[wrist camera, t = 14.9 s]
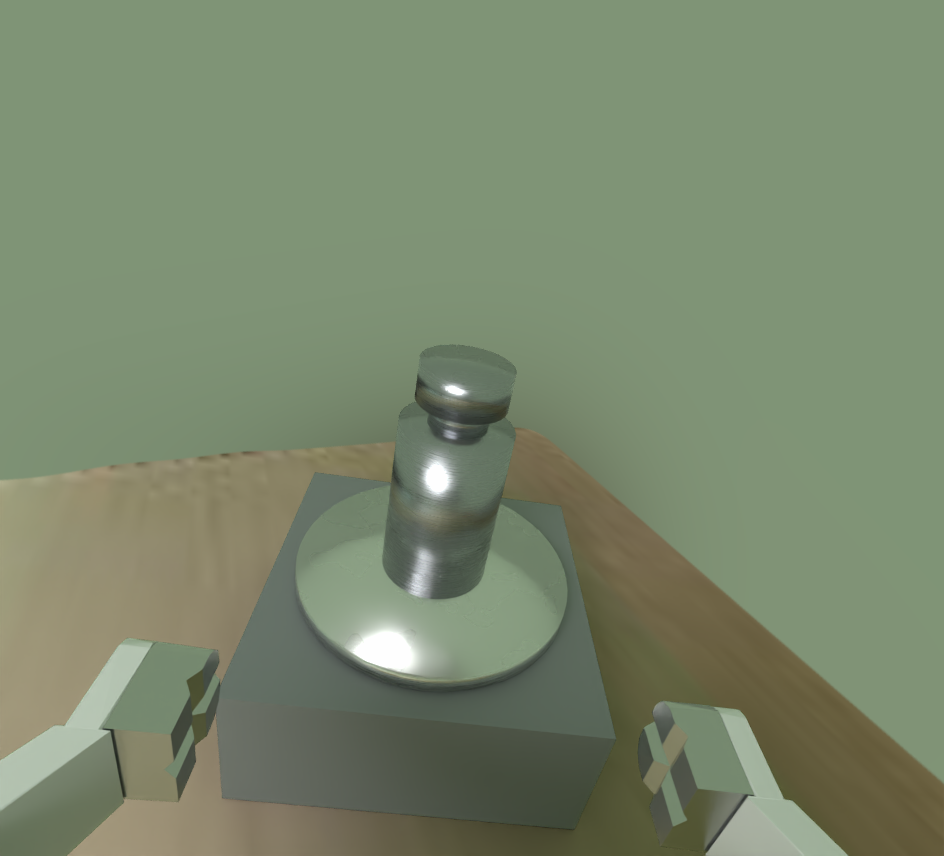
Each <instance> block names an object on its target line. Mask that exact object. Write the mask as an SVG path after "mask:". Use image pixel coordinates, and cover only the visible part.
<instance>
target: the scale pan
mask: <svg viewBox="0 0 944 856" xmlns="http://www.w3.org/2000/svg"><path fill="white" fill-rule="evenodd" d="M390 487H391V486H384V487H380V488H375V489H371V490H368V491H364V492H361V493H358V494H356V495H353V496H351V497H349V498H346V499H344V500H343V501H341V502H339V503H337V504H336V505H334V506H332V507H331V508H330V509H328V510H327V511H326V512H324V513H323V514H322V515H321V516H320V517H319V518H318V519H317V520H316V521H315V522H314V523H313V524H312V526H311V527H310V528H309V530H308V531H307V532H306V534H305V536H304V538H303V540H302V542H301V544H300V547H299V550H298V554H297V559H296V570H295V587H296V597H297V601H298V604H299V608H300V611H301V613H302V615H303V617H304V619H305V621H306V623H307V625H308V627H309V628H310V629H311V631H312V632H313V634H314V635H315V636H316V638H317V639H318V640H319V641H320V642H321V643H322V644H323V645H324V646H325V647H326V648H327V649H328V650H329V651H330V652H331V653H332V654H334V655H335V656H336V657H338V658H339V659H340V660H342V661H343V662H344V663H346V664H347V665H349V666H351V667H353V668H354V669H356V670H358V671H360V672H361V673H363V674H366V675H368V676H370V677H373V678H375V679H377V680H380V681H382V682H386V683H389V684H393V685H396V686H400V687H404V688H410V689H416V690H422V691H436V692H452V691H466V690H471V689H477V688H482V687H487V686H490V685H493V684H496V683H499V682H502V681H504V680H506V679H508V678H510V677H512V676H514V675H517V674H519V673H520V672H522V671H523V670H525V669H526V668H528V667H529V666H530V665H532V664H533V663H534V662H535V661H537V660H538V659H539V658H540V657H541V656H542V655H543V654H544V653H545V651H546V650H547V649H548V647H549V646H550V645H551V643H552V642H553V640H554V638H555V636H556V634H557V632H558V630H559V627H560V624H561V621H562V618H563V615H564V612H565V608H566V604H567V592H568V589H567V581H566V575H565V572H564V569H563V565H562V563H561V561H560V559H559V557H558V555H557V553H556V552H555V550H554V549H553V547H552V546H551V544H550V543H549V541H548V540H547V539H546V538H545V537H544V536H543V534H542V533H541V532H540V531H539V530H538V529H537V528H535V527H534V526H533V525H532V524H531V523H530V522H529V521H527V520H526V519H525V518H523V517H522V516H521V515H519V514H518V513H516V512H514V511H513V510H511V509H510V508H508V507H506V506H504V505H502V504H500V506H499V510H498V514H497V518H496V523H495V527H494V531H493V536H492V540H491V544H490V548H489V553H488V557H487V561H486V565H485V570H484V574H483V577H482V579H481V581H480V582H479V584H478V585H477V586H476V587H475V588H474V589H473V590H471V591H470V592H468V593H466V594H464V595H461V596H459V597H455V598H450V599H429V598H423V597H420V596H416V595H413V594H411V593H409V592H407V591H405V590H403V589H401V588H400V587H398V586H397V585H396V584H395V583H393V582H392V580H391V579H390V578H389V577H388V575H387V574H386V572H385V570H384V568H383V564H382V554H383V545H384V537H385V529H386V520H387V512H388V504H389V495H390Z"/></svg>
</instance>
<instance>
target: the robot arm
mask: <svg viewBox="0 0 944 856" xmlns="http://www.w3.org/2000/svg"><path fill="white" fill-rule="evenodd" d="M218 664H219V655H218V650H213V649H206V648H199V647H192V646H185V645H178V644H171V643H164V642H157V641H149V640H141V639H133V638H127V639H126V640H124V641H123V642H122V643H121V644H120V645H119V646H118V647H117V648H116V650H115V651H114V653H113V654H112V656H111V657H110V659H109V660H108V662H107V663H106V665H105V666H104V668H103V669H102V671H101V672H100V674H99V675H98V677H97V678H96V679H95V681H94V682H93V684H92V685H91V687H90V688H89V690H88V691H87V693H86V694H85V696H84V697H83V699H82V700H81V702H80V703H79V705H78V706H77V708H76V709H75V711H74V712H73V714H72V715H71V717H70V718H69V720H68V721H67V723H66V724H65V726H64V725H54V726H52V727H51V728H49V729H48V730H46V731H45V732H43V733H42V734H40V735H39V736H37V737H36V738H34V739H32V740H31V741H29V742H28V743H26V744H25V745H23V746H22V747H20V748H19V749H17V750H16V751H14V752H12V753H11V754H9V755H8V756H6V757H5V758H3V759H2V760H0V856H67V855H68V854H69V853H70V852H71V851H72V850H73V849H74V848H76V847H77V846H78V845H79V844H80V843H81V842H82V841H83V840H84V839H85V838H86V837H87V836H88V835H89V834H91V833H92V832H93V831H94V830H95V829H96V828H97V827H98V826H99V825H100V824H101V823H102V822H103V821H105V820H106V819H107V818H108V817H109V816H110V815H111V814H112V813H113V812H114V811H115V810H116V809H117V808H119V807H120V806H121V805H122V804H123V803H124V799H134V800H150V801H166V802H179V800H180V797H181V795H182V793H183V790H184V788H185V786H186V783H187V781H188V779H189V776H190V774H191V772H192V769H193V767H194V765H195V763H196V757H195V745H196V744H197V743H199V742H200V741H201V740H202V739H204V738H205V737H206V736H207V734H208V732H209V729H210V727H211V724H212V722H213V720H214V716H215V712H216V709H217V705H218V702H219V694H220V679H219V678H218V677H217V676H216V675H215V674H214V673H215V671H216V669H217V667H218ZM652 714H653V717H654V722H653V723H651V724H649V725H647V726H646V727H644V729H643V731H642V733H641V736H640V738H639V745H638V761H639V768H640V772H641V776H642V780H643V782H644V783H645V784H646V785H647V787H648V788H649V789H650V790H651V791H652V793H653V794H654V796H653V799H652V801H651V804H650V806H649V807H650V811H651V814H652V818H653V822H654V825H655V829H656V833H657V836H658V840H659V844H660V847H666V848H674V849H682V850H690V851H698V852H706V856H848V855H847V854H846V853H845V852H844V851H843V850H842V849H841V848H840V847H839V846H838V845H837V844H836V843H835V842H834V841H833V840H832V839H831V838H830V837H829V836H828V835H827V834H826V833H825V832H824V831H823V830H822V829H821V828H820V827H819V826H818V825H817V824H816V823H815V822H814V821H813V820H812V819H811V818H809V817H808V816H807V815H806V814H805V813H804V812H803V811H802V810H801V809H800V808H799V807H798V806H797V805H796V804H795V803H794V802H793V801H792V800H786V799H784V798H783V795H782V793H781V791H780V789H779V787H778V785H777V783H776V781H775V779H774V776H773V774H772V772H771V770H770V768H769V766H768V764H767V762H766V760H765V757H764V755H763V753H762V751H761V749H760V747H759V745H758V743H757V741H756V738H755V736H754V734H753V732H752V730H751V728H750V726H749V724H748V721H747V719H746V717H745V716H744V715H743V713H742V712H741V711H740V710H737V709H730V708H720V707H711V706H709V705H699V704H689V703H679V702H669V701H661V702H659V703H657V704H656V706H655V708H654V710H653V712H652Z"/></svg>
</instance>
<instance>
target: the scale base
mask: <svg viewBox="0 0 944 856" xmlns="http://www.w3.org/2000/svg"><path fill="white" fill-rule="evenodd" d="M384 486H391V483H389V482H382V481H375V480H368V479H360V478H353V477H346V476H338V475H331V474H324V473H316V472H315V474H314V476H313V478H312V480H311V483H310V485H309V487H308V489H307V492H306V494H305V496H304V498H303V501H302V503H301V505H300V507H299V510H298V512H297V514H296V516H295V519H294V521H293V523H292V525H291V528H290V530H289V532H288V534H287V537H286V539H285V541H284V543H283V546H282V548H281V550H280V552H279V555H278V557H277V559H276V561H275V564H274V566H273V568H272V570H271V573H270V575H269V577H268V579H267V582H266V584H265V586H264V588H263V591H262V593H261V595H260V598H259V600H258V602H257V604H256V607H255V609H254V611H253V613H252V616H251V618H250V620H249V622H248V625H247V627H246V629H245V631H244V634H243V636H242V638H241V640H240V643H239V645H238V647H237V649H236V652H235V654H234V656H233V658H232V661H231V663H230V665H229V667H228V670H227V672H226V674H225V676H224V679H223V681H222V683H221V685H220V694H219V702H218V705H217V709H216V718H217V732H218V746H219V760H220V774H221V788H222V798H226V799H237V800H248V801H260V802H271V803H282V804H293V805H304V806H316V807H327V808H338V809H349V810H360V811H372V812H383V813H394V814H405V815H416V816H428V817H439V818H450V819H461V820H472V821H484V822H495V823H506V824H517V825H528V826H540V827H551V828H562V829H573V830H574V829H575V827H576V825H577V823H578V820H579V818H580V816H581V814H582V812H583V810H584V807H585V805H586V803H587V801H588V799H589V797H590V795H591V792H592V790H593V788H594V786H595V784H596V782H597V779H598V777H599V775H600V773H601V771H602V769H603V766H604V764H605V762H606V760H607V758H608V756H609V754H610V751H611V749H612V747H613V745H614V743H615V741H616V736H615V732H614V728H613V724H612V720H611V715H610V711H609V707H608V703H607V698H606V694H605V690H604V686H603V682H602V677H601V673H600V669H599V665H598V660H597V656H596V652H595V648H594V644H593V639H592V635H591V631H590V627H589V622H588V618H587V614H586V610H585V606H584V601H583V597H582V593H581V589H580V584H579V580H578V576H577V572H576V568H575V563H574V559H573V555H572V551H571V546H570V542H569V538H568V534H567V530H566V525H565V521H564V517H563V513H562V508H561V506H558V505H551V504H543V503H536V502H529V501H521V500H514V499H507V498H501V501H500V504H502V505H504V506H506V507H508V508H510V509H511V510H513V511H514V512H516V513H518V514H519V515H521V516H522V517H523V518H525V519H526V520H527V521H529V522H530V523H531V524H532V525H533V526H534V527H535V528H537V529H538V530H539V531H540V532H541V533H542V534H543V536H544V537H545V538H546V539H547V540H548V541H549V543H550V544H551V546H552V547H553V549H554V550H555V552H556V553H557V555H558V557H559V559H560V561H561V563H562V565H563V569H564V572H565V575H566V581H567V589H568V592H567V604H566V608H565V612H564V615H563V618H562V621H561V624H560V627H559V630H558V632H557V634H556V636H555V638H554V640H553V642H552V643H551V645H550V646H549V647H548V649H547V650H546V651H545V653H544V654H543V655H542V656H541V657H540V658H539V659H538V660H537V661H535V662H534V663H533V664H532V665H530V666H529V667H528V668H526V669H525V670H523V671H522V672H520V673H519V674H517V675H514V676H512V677H510V678H508V679H506V680H504V681H502V682H499V683H496V684H493V685H490V686H487V687H482V688H477V689H471V690H466V691H452V692H436V691H422V690H416V689H410V688H404V687H400V686H396V685H393V684H389V683H386V682H382V681H380V680H377V679H375V678H373V677H370V676H368V675H366V674H363V673H361V672H360V671H358V670H356V669H354V668H353V667H351V666H349V665H347V664H346V663H344V662H343V661H342V660H340V659H339V658H338V657H336V656H335V655H334V654H332V653H331V652H330V651H329V650H328V649H327V648H326V647H325V646H324V645H323V644H322V643H321V642H320V641H319V640H318V639H317V638H316V636H315V635H314V634H313V632H312V631H311V629H310V628H309V627H308V625H307V623H306V621H305V619H304V617H303V615H302V613H301V611H300V608H299V604H298V601H297V597H296V587H295V570H296V559H297V554H298V550H299V547H300V544H301V542H302V540H303V538H304V536H305V534H306V532H307V531H308V530H309V528H310V527H311V526H312V524H313V523H314V522H315V521H316V520H317V519H318V518H319V517H320V516H321V515H322V514H323V513H324V512H326V511H327V510H328V509H330V508H331V507H332V506H334V505H336V504H337V503H339V502H341V501H343V500H344V499H346V498H349V497H351V496H353V495H356V494H358V493H361V492H364V491H368V490H371V489H375V488H380V487H384Z"/></svg>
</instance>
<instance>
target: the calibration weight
mask: <svg viewBox="0 0 944 856" xmlns="http://www.w3.org/2000/svg"><path fill="white" fill-rule="evenodd" d="M515 378H516V368H515V366H514V365H513V364H512V363H511V362H510V361H508V360H507V359H505V358H504V357H502V356H500V355H497V354H495V353H493V352H490V351H487V350H484V349H479V348H475V347H470V346H463V345H439V346H434V347H430V348H427V349H426V350H424V351H423V352H422V353H421V355H420V360H419V369H418V375H417V383H416V391H415V400H416V402H414V403H411V404H409V405H408V406H406V407H405V408H404V409H403V410H402V411H401V412H400V415H399V420H398V429H397V438H396V445H395V454H394V462H393V470H392V479H391V487H390V495H389V504H388V512H387V520H386V529H385V537H384V545H383V554H382V564H383V568H384V570H385V572H386V574H387V575H388V577H389V578H390V579H391V580H392V582H393V583H395V584H396V585H397V586H398V587H400V588H401V589H403V590H405V591H407V592H409V593H411V594H413V595H416V596H420V597H423V598H429V599H450V598H455V597H459V596H461V595H464V594H466V593H468V592H470V591H471V590H473V589H474V588H475V587H476V586H477V585H478V584H479V582H480V581H481V579H482V577H483V574H484V570H485V565H486V561H487V557H488V553H489V548H490V544H491V540H492V536H493V531H494V527H495V523H496V518H497V514H498V510H499V506H500V501H501V497H502V493H503V489H504V484H505V480H506V476H507V471H508V467H509V463H510V459H511V454H512V450H513V446H514V441H515V437H516V433H515V429H514V427H513V426H512V424H511V423H510V422H509V421H508V420H507V419H506V418H505V416H506V415H507V413H508V409H509V405H510V400H511V396H512V391H513V387H514V382H515Z"/></svg>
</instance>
